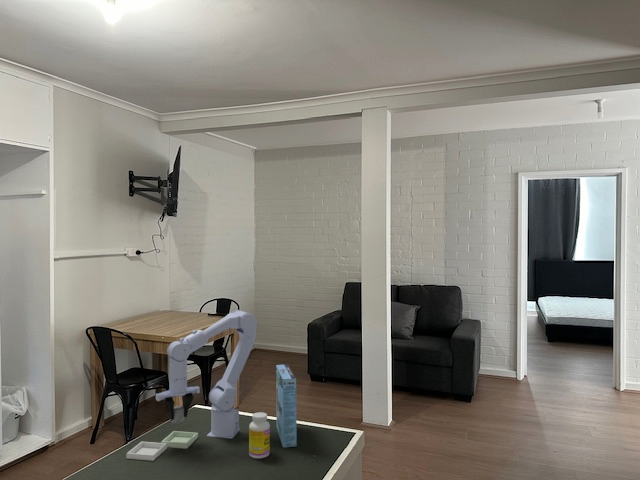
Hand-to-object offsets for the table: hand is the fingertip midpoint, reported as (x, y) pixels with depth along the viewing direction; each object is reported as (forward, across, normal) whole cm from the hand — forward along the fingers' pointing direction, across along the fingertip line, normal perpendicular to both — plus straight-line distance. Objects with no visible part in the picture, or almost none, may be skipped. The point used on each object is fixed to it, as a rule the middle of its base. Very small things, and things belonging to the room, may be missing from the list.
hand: (178, 417), depth 161 cm
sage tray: (+9, +1, 0) cm, 9 cm away
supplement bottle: (+9, +18, -23) cm, 31 cm away
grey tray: (+9, -11, -2) cm, 14 cm away
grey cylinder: (+1, 0, 0) cm, 1 cm away
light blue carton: (+9, +33, -15) cm, 38 cm away
